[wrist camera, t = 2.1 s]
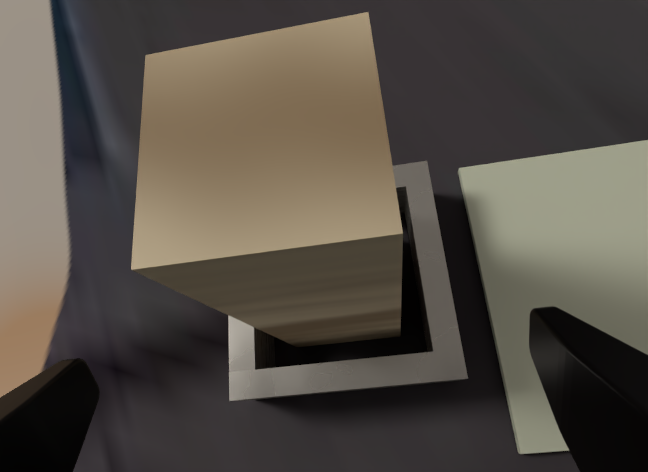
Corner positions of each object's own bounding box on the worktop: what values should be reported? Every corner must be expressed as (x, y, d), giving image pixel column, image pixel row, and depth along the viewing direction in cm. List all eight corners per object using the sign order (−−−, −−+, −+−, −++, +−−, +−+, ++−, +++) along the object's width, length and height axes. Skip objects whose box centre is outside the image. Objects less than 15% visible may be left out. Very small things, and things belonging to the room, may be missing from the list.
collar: (457, 381, 18) (467, 378, 15) (254, 399, 19) (229, 401, 16) (423, 191, 21) (426, 160, 18) (248, 216, 22) (227, 190, 19)
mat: (876, 426, 15) (888, 427, 15) (518, 452, 17) (520, 453, 16) (736, 131, 20) (742, 126, 19) (458, 172, 21) (459, 168, 21)
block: (400, 336, 19) (403, 233, 7) (297, 347, 20) (130, 269, 7) (386, 237, 21) (368, 12, 8) (291, 250, 21) (145, 55, 9)
